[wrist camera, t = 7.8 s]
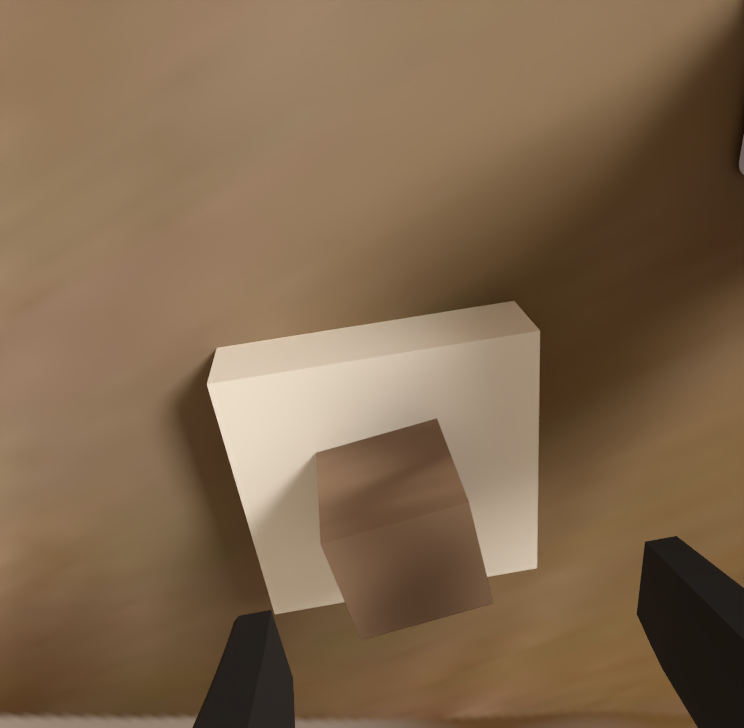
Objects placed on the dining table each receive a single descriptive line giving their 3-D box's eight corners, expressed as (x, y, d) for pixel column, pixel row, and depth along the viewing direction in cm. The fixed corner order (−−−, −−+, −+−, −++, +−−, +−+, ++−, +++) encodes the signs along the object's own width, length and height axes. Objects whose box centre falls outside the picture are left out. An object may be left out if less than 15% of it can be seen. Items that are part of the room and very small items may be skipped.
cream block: (508, 294, 20) (540, 330, 18) (512, 513, 25) (537, 568, 23) (218, 340, 20) (206, 384, 17) (277, 554, 25) (275, 614, 22)
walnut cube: (437, 418, 19) (468, 502, 15) (460, 509, 21) (493, 603, 17) (315, 452, 19) (320, 544, 15) (350, 540, 21) (361, 640, 17)
